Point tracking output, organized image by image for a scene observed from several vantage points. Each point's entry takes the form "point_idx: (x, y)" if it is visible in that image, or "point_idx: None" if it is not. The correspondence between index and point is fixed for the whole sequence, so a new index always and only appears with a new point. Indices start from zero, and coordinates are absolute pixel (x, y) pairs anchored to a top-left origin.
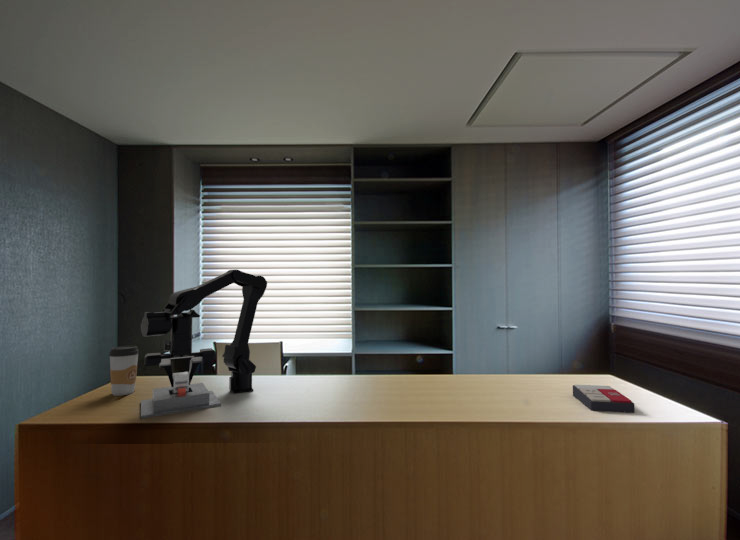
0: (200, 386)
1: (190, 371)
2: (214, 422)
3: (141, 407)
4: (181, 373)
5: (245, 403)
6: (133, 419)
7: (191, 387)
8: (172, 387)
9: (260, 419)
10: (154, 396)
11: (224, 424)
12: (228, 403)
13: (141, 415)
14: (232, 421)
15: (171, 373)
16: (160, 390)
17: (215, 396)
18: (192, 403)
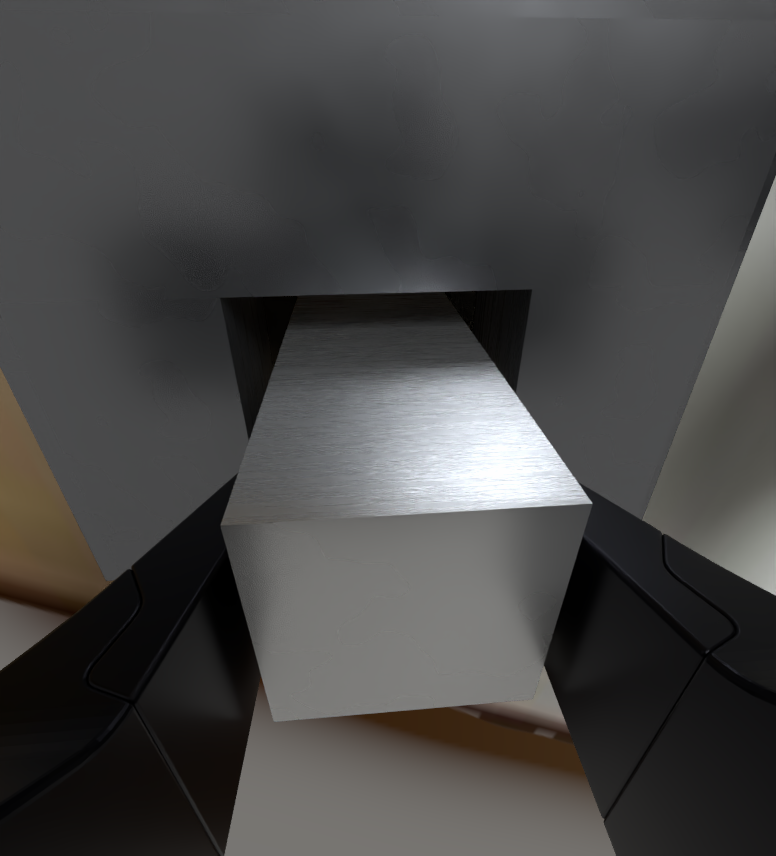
0: (655, 321)
1: (578, 750)
2: (492, 708)
3: (11, 380)
4: (422, 617)
5: (761, 543)
6: (63, 551)
7: (539, 312)
8: (265, 122)
9: None
10: (105, 522)
11: (518, 730)
12: (688, 500)
13: (107, 574)
14: (557, 717)
15: (219, 791)
16: (88, 250)
17: (701, 351)
18: None
